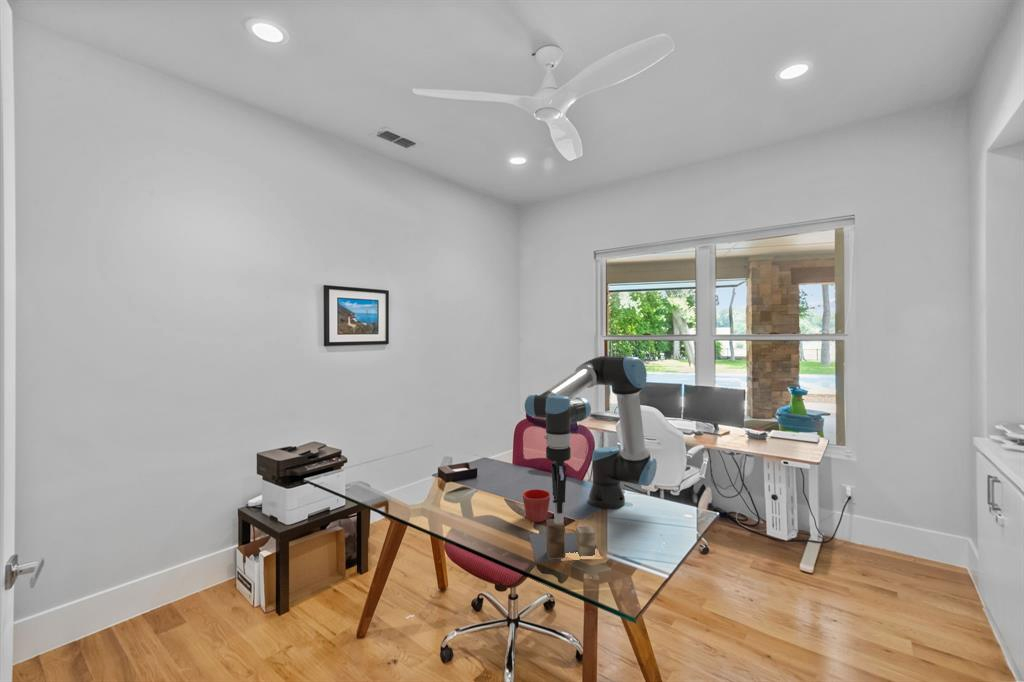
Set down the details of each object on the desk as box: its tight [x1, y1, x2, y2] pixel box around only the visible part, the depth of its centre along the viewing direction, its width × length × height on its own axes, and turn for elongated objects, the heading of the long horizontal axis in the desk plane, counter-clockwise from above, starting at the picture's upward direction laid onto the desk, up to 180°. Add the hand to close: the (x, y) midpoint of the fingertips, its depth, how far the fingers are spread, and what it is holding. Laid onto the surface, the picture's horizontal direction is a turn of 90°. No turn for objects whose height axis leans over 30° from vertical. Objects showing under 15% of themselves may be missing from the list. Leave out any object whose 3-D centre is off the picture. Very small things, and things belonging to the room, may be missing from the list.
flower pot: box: [522, 489, 551, 523], centre depth 180 cm, size 11×11×10 cm
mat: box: [528, 531, 599, 564], centre depth 156 cm, size 22×20×1 cm
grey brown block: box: [545, 518, 565, 560], centre depth 149 cm, size 5×5×11 cm
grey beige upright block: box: [575, 525, 596, 557], centre depth 150 cm, size 5×5×8 cm
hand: (558, 522), depth 141 cm, fingers closed
